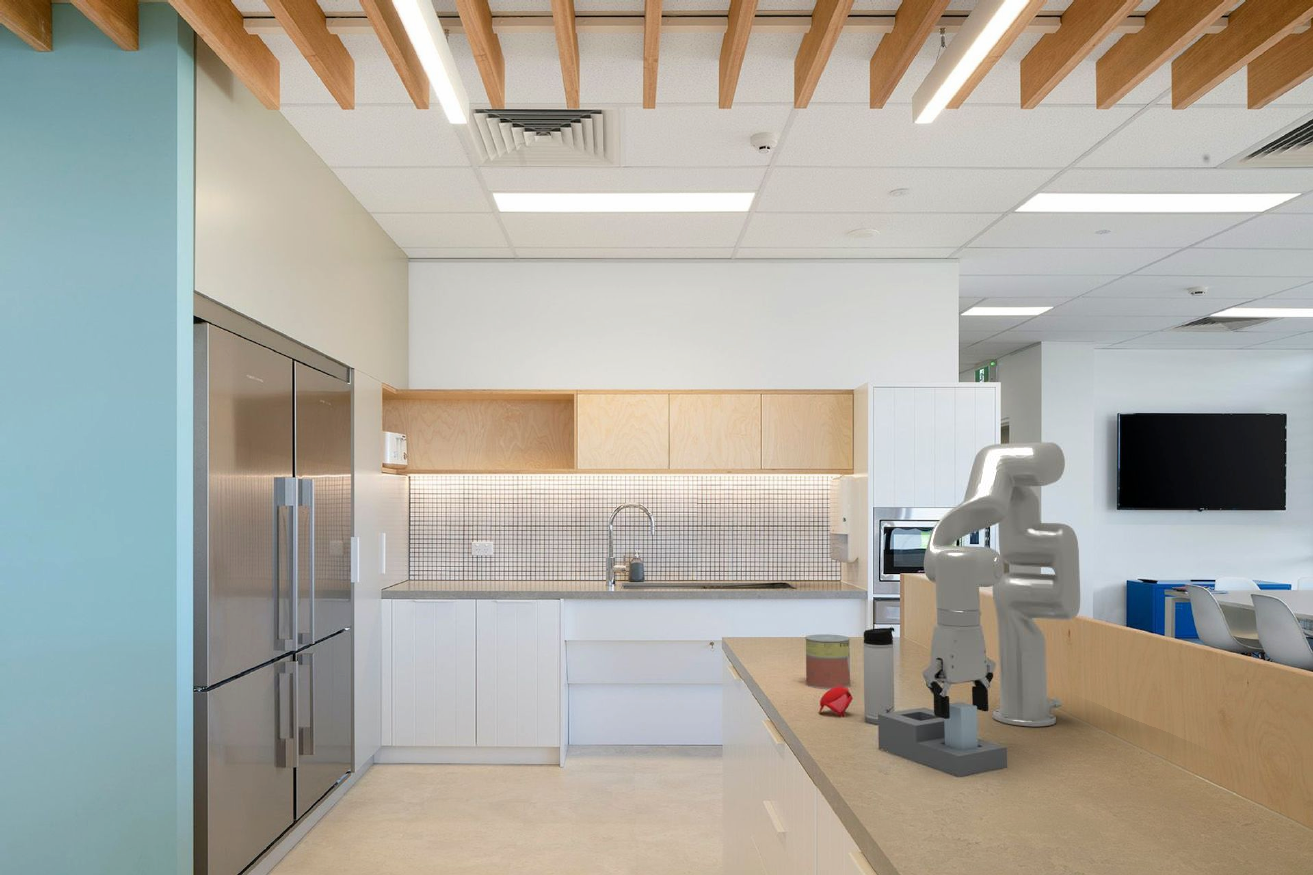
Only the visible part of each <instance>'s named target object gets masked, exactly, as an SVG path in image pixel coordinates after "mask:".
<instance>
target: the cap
mask: <svg viewBox="0 0 1313 875" xmlns="http://www.w3.org/2000/svg"><path fill="white" fill-rule="evenodd" d="M852 700H853V696H852V694H851V691H850V689H849V688H846V687H835V688H833V689H828V690H827V691H826V692H825V693H824V694H823V695H822V697H821V698H820V700H819V705H820V709H819V711H818V714H821V712H822V711H823V710H824V707H827V708H829V709H830V711H832V712H833V713H836V714H837V716H838V717H841V716H842V717H844V716H845V712H846V710H847V709H848V707H849V706H850V704H851V703H852Z"/></svg>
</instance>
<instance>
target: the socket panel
mask: <svg viewBox="0 0 1313 875" xmlns="http://www.w3.org/2000/svg"><path fill="white" fill-rule="evenodd" d="M877 727H878V728H877V731H878V732H877V733H878V734H877V736H878V749H879V750H881V749H883V750H885V751H884V752H886V751H888V752H887V753H889V752H890V753H889V754H892V753H894V754H893V755H895V754H896V755H895V756H898V755H900V756H899V757H901V756H902V757H901V758H903V757H904V759H906V758H907V760H910V761H912V760H913V761H912V762H916V763H918V764H921V765H923V764H924V765H923V766H926V767H929V768H933V769H935V770H937V771H941V772H943V773H946V774H949V775H952V776H954V777H955V776H956V777H958V778H961V777H965V776H969V775H975V774H979V773H986V772H989V771H995V770H1000V769H1004V768H1005V769H1006V768H1008V747H1007V746H1005V745H1001V744H999V743H994V742H990V741H987V740H984V739H981V738H978V748H972V749H967V750H959V749H956V748H953V747H950V746H946V745H945V726H944V718H941V717H937V716H935V715H934V709H931V708H927V707H918V708H912V709H906V710H905V709H903V710H897V711H894V712H890V713H883V714H878V725H877ZM883 750H882V751H883Z"/></svg>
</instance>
